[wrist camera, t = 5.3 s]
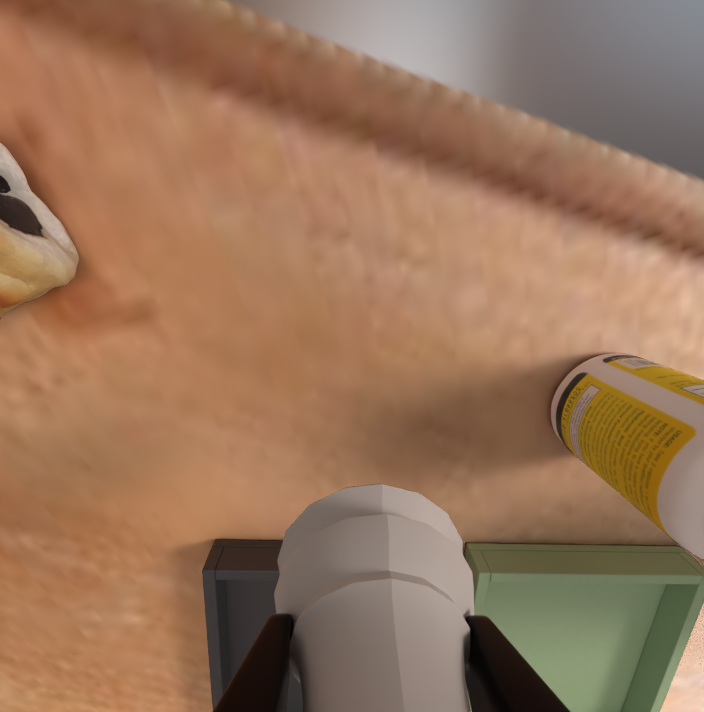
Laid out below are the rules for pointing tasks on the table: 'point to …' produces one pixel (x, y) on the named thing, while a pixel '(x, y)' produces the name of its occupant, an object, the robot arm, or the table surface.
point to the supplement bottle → (640, 437)
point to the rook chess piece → (377, 603)
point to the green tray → (592, 616)
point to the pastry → (29, 241)
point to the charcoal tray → (240, 608)
